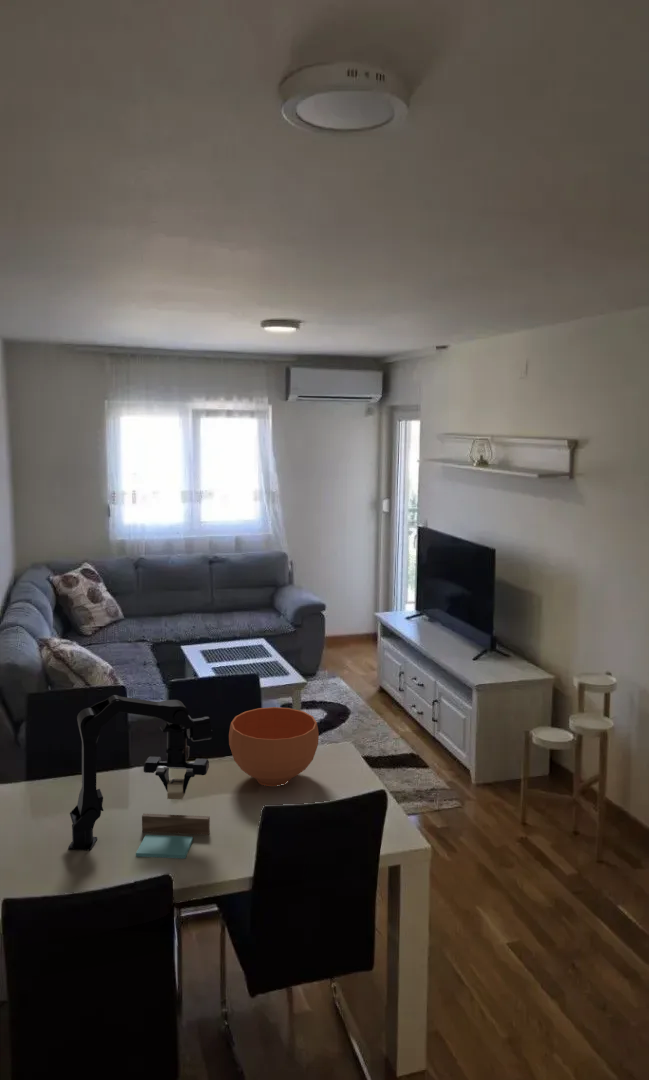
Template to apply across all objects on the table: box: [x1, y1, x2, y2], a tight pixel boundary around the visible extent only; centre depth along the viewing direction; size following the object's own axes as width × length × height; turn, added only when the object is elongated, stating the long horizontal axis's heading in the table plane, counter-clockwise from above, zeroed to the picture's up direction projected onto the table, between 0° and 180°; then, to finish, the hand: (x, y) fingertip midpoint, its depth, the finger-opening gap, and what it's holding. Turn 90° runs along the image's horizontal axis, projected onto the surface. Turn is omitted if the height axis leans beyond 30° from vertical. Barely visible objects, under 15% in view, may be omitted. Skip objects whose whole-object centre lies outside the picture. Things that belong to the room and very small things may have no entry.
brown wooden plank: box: [141, 813, 211, 836], centre depth 234 cm, size 2×20×5 cm, turn 87°
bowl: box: [228, 706, 320, 787], centre depth 268 cm, size 30×30×20 cm
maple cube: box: [166, 777, 186, 801], centre depth 236 cm, size 4×4×5 cm
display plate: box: [135, 834, 194, 859], centre depth 225 cm, size 10×14×1 cm
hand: (176, 792), depth 236 cm, fingers closed on maple cube, 4 cm apart
